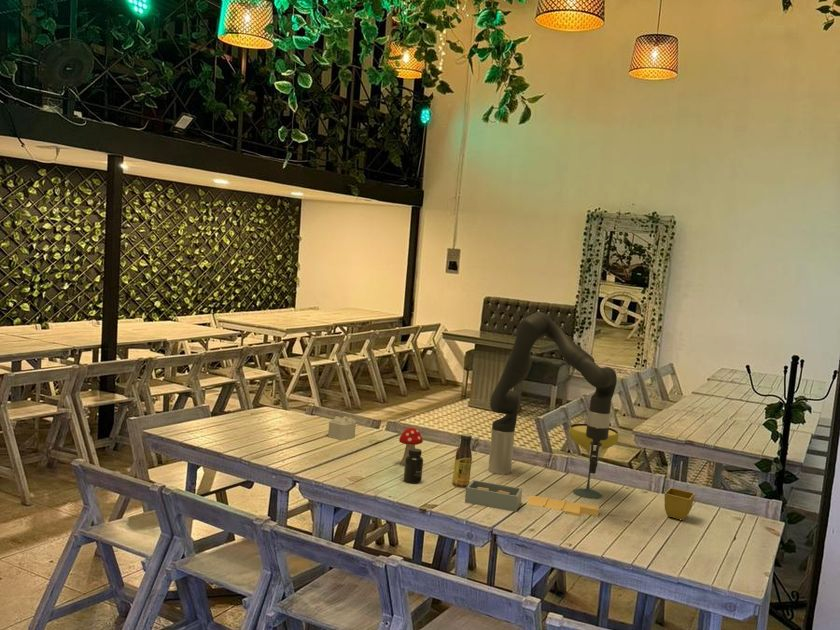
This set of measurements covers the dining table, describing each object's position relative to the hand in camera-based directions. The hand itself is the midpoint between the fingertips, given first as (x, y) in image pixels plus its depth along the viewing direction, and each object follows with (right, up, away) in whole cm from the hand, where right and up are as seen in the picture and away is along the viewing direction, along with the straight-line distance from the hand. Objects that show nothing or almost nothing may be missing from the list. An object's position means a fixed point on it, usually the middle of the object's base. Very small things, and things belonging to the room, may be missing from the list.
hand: (593, 469), depth 254 cm
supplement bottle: (-63, -9, +20) cm, 67 cm away
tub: (-35, -12, +1) cm, 37 cm away
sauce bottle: (-45, -10, +18) cm, 50 cm away
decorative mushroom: (-65, -7, +41) cm, 77 cm away
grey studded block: (-96, -1, +77) cm, 123 cm away
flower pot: (+31, -18, +4) cm, 36 cm away
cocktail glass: (+3, -14, +23) cm, 27 cm away
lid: (-10, -14, +4) cm, 18 cm away
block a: (-39, -11, +2) cm, 40 cm away
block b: (-32, -12, 0) cm, 34 cm away
